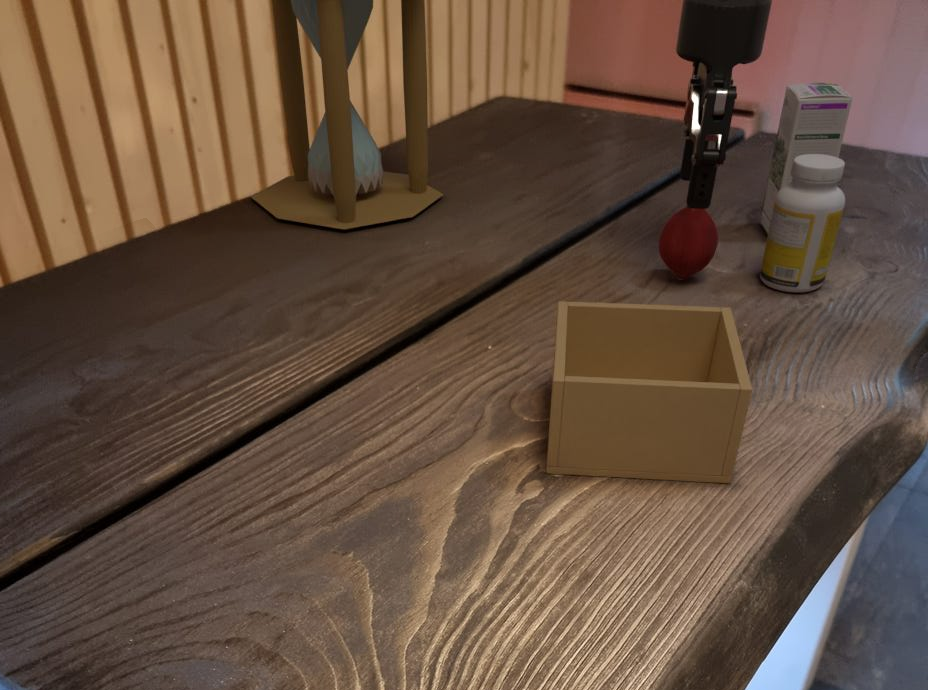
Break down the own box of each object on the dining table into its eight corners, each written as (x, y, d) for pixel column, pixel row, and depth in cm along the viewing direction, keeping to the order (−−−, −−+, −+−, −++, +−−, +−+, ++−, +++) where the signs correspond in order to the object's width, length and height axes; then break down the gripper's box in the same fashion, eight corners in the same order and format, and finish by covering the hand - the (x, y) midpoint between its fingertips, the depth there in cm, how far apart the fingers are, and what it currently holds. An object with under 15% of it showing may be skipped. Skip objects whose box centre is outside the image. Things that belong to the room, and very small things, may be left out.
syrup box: (820, 241, 104) (857, 95, 94) (767, 241, 104) (799, 95, 94) (806, 223, 108) (841, 82, 98) (756, 223, 108) (785, 82, 99)
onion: (671, 264, 99) (683, 184, 94) (720, 276, 97) (735, 196, 91) (644, 280, 96) (655, 199, 91) (693, 294, 93) (708, 211, 88)
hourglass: (476, 197, 116) (478, -49, 99) (343, 246, 104) (320, -25, 87) (350, 161, 128) (333, -65, 111) (218, 200, 116) (176, -46, 99)
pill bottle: (822, 274, 97) (854, 153, 89) (823, 298, 93) (857, 173, 85) (758, 268, 98) (784, 148, 91) (756, 291, 94) (784, 168, 86)
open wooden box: (713, 395, 78) (730, 307, 73) (730, 483, 68) (752, 389, 63) (551, 387, 79) (558, 300, 74) (546, 473, 69) (552, 380, 64)
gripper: (785, 10, 74) (741, 219, 85) (761, -19, 85) (724, 172, 96) (690, 7, 75) (659, 216, 86) (678, -20, 85) (651, 169, 96)
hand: (693, 193), depth 91 cm, fingers open, 8 cm apart
